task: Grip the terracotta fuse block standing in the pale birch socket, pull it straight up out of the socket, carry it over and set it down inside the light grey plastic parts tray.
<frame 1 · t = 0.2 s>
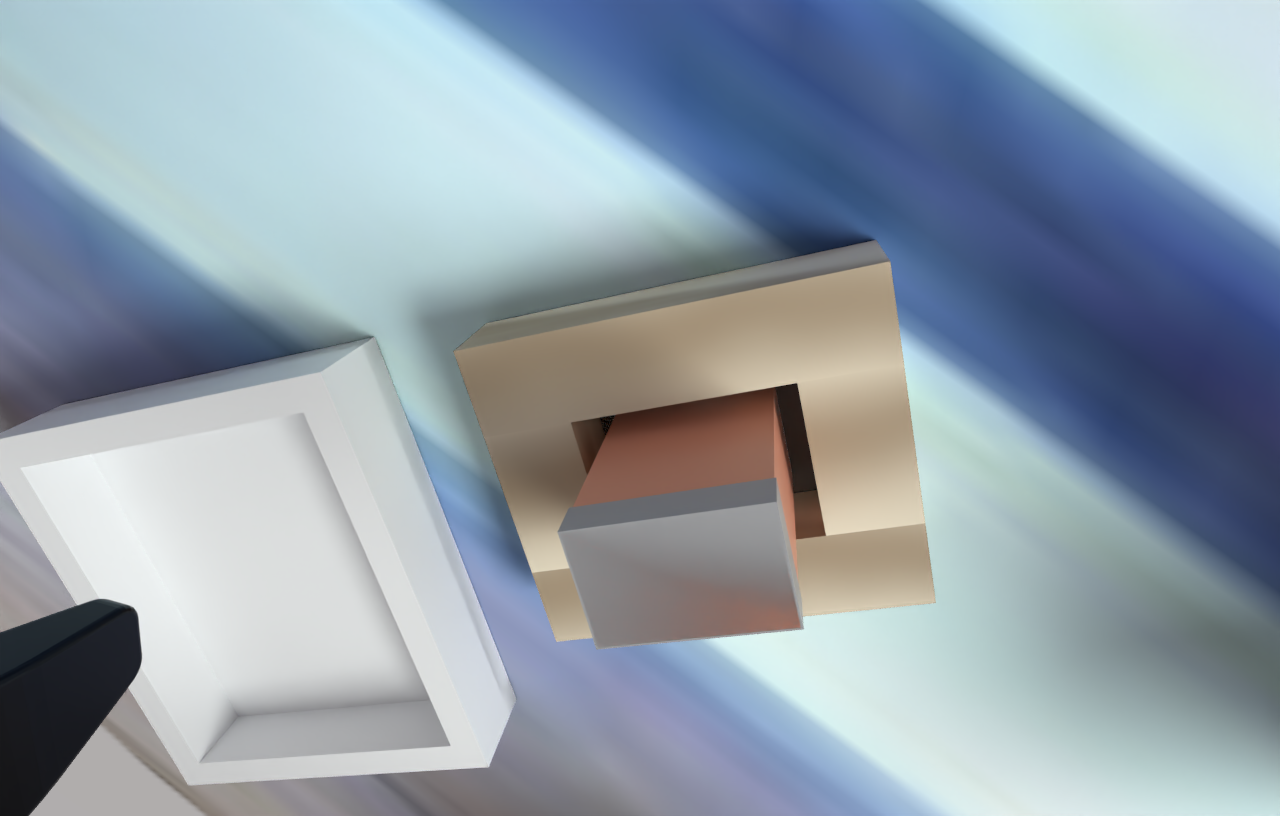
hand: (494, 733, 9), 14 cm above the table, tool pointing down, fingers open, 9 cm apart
parts tray: (298, 557, 26), on the table
fuse: (695, 497, 19), in the socket
socket: (706, 438, 22), on the table
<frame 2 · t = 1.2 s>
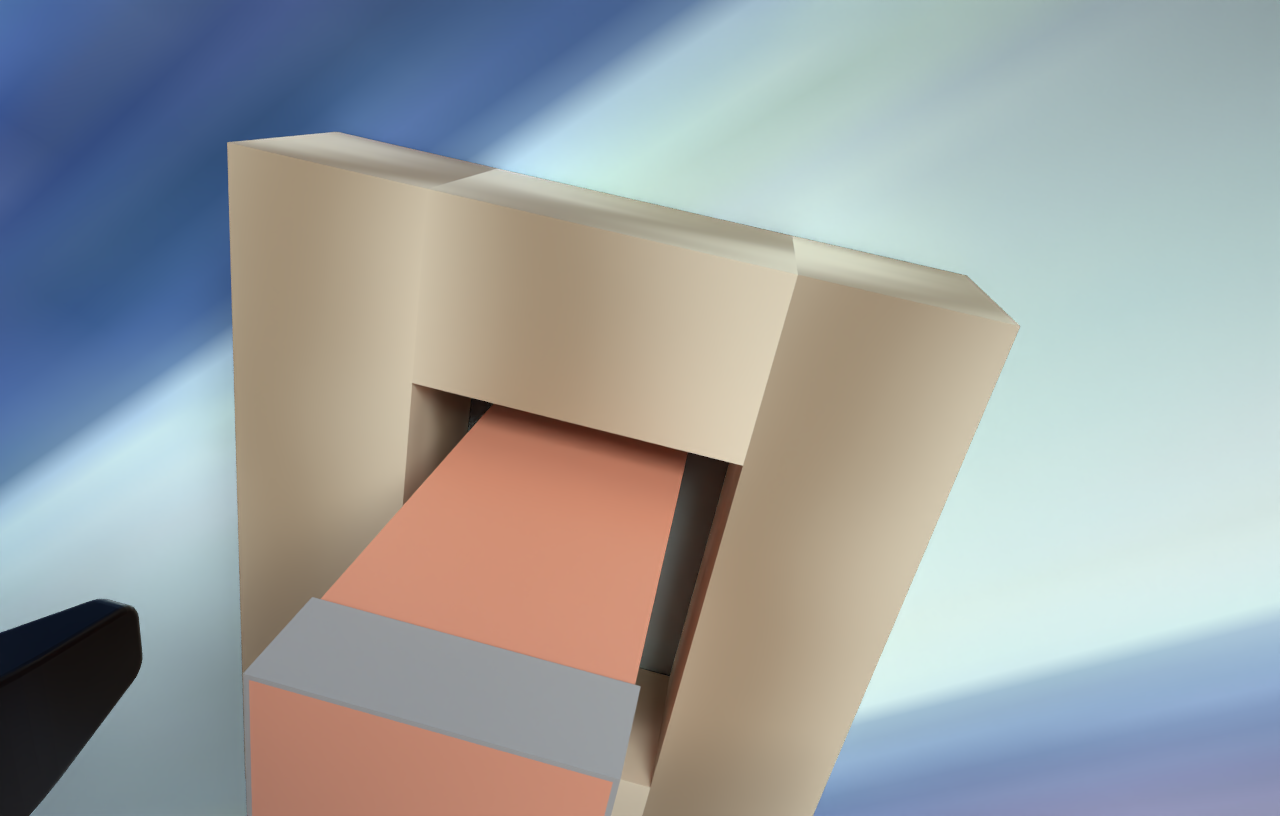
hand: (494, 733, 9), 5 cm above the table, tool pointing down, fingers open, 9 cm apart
fuse: (523, 649, 10), in the socket
socket: (582, 516, 13), on the table
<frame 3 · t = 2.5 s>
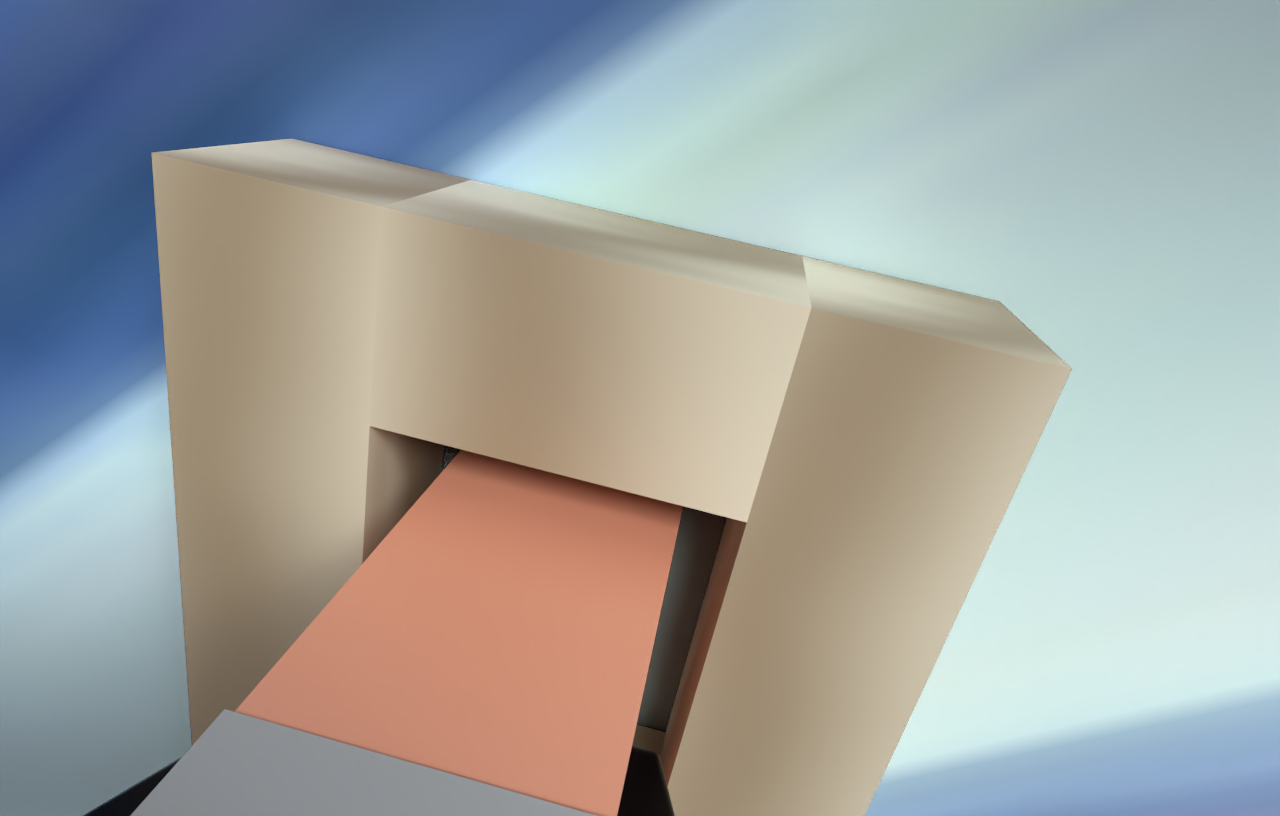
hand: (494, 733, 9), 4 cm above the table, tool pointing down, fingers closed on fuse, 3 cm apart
fuse: (496, 729, 9), in the socket, touching gripper
socket: (568, 560, 12), on the table
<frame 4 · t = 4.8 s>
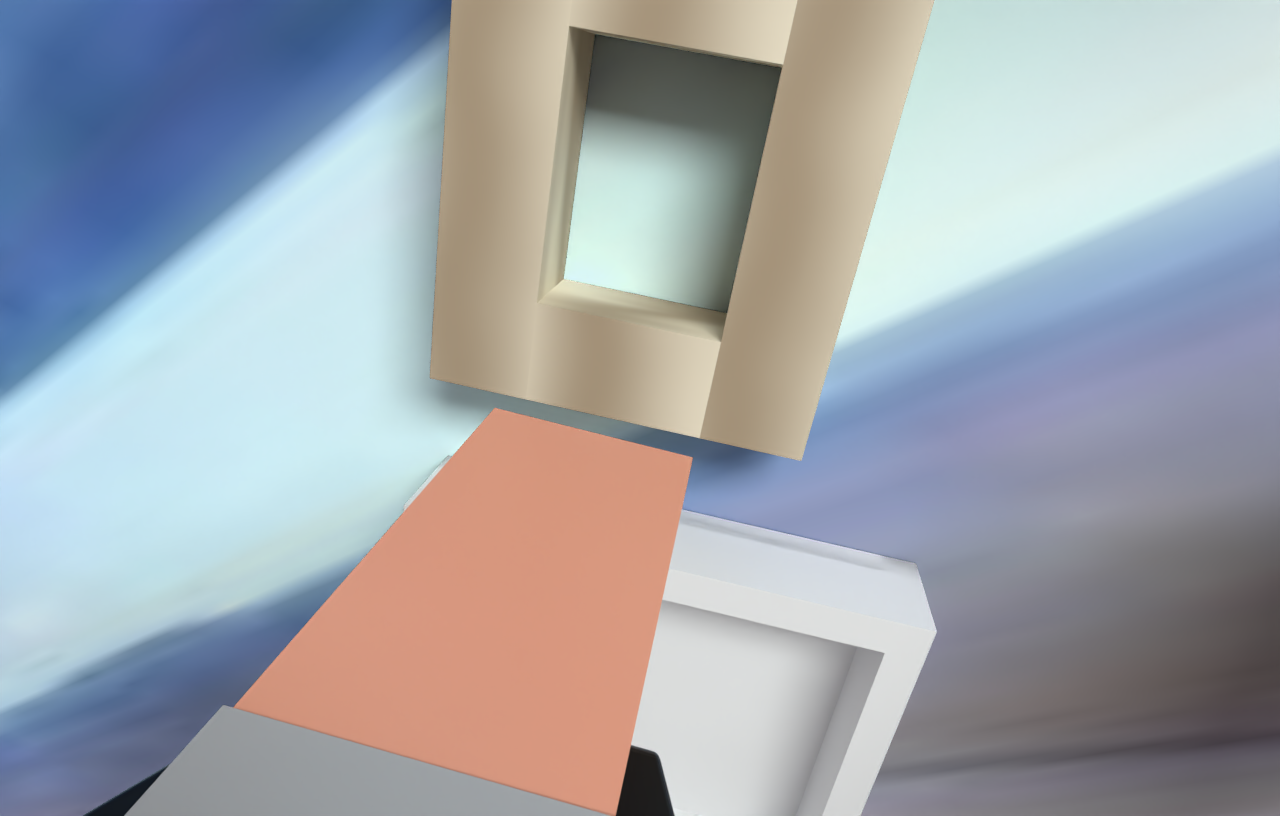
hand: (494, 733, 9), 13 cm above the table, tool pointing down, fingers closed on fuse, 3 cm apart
parts tray: (641, 664, 25), on the table
fuse: (495, 726, 9), point 13 cm above the table, touching gripper
socket: (664, 181, 19), on the table
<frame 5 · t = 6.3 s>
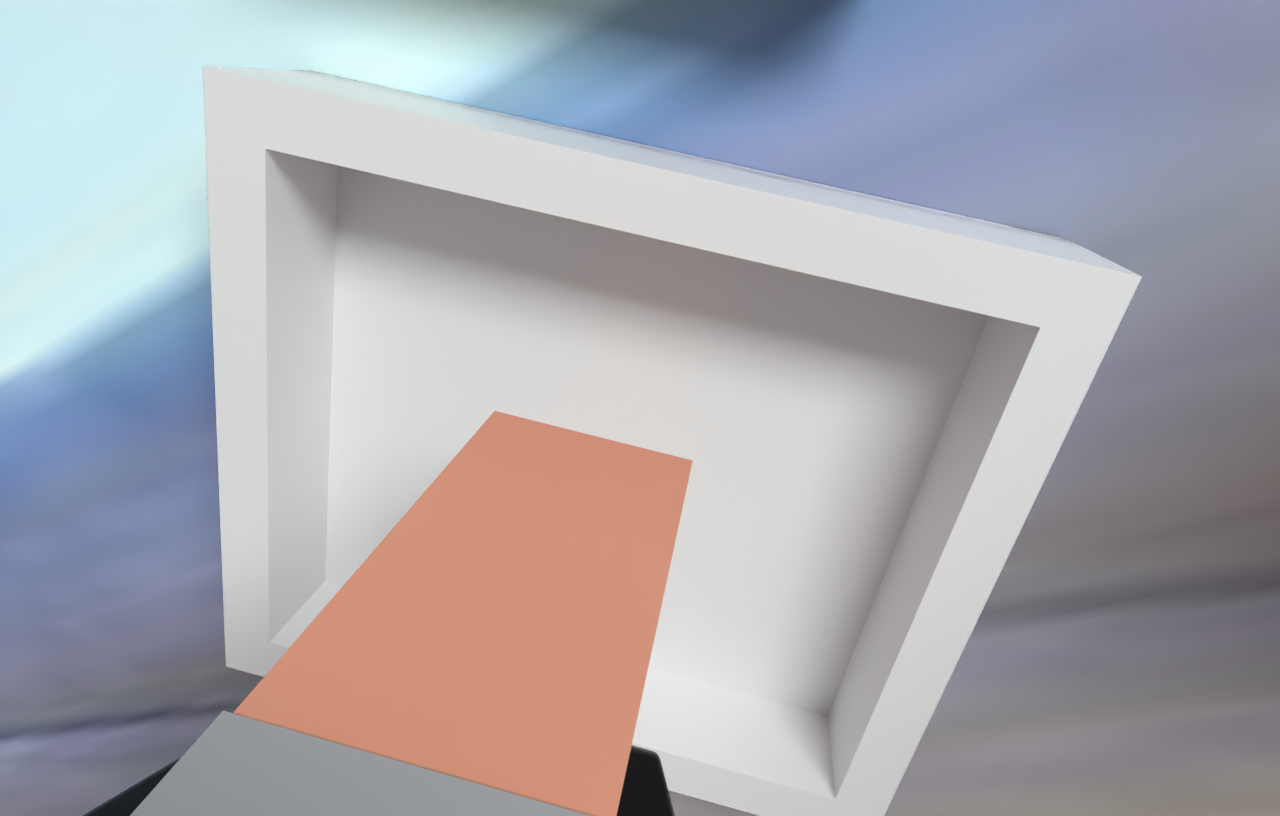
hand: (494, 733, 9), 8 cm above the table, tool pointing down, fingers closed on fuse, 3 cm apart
parts tray: (616, 442, 16), on the table
fuse: (495, 730, 9), point 8 cm above the table, touching gripper
when the fingers open (6 cm above the table, at t = 7.4 s): fuse drops 1 cm, resting on parts tray.
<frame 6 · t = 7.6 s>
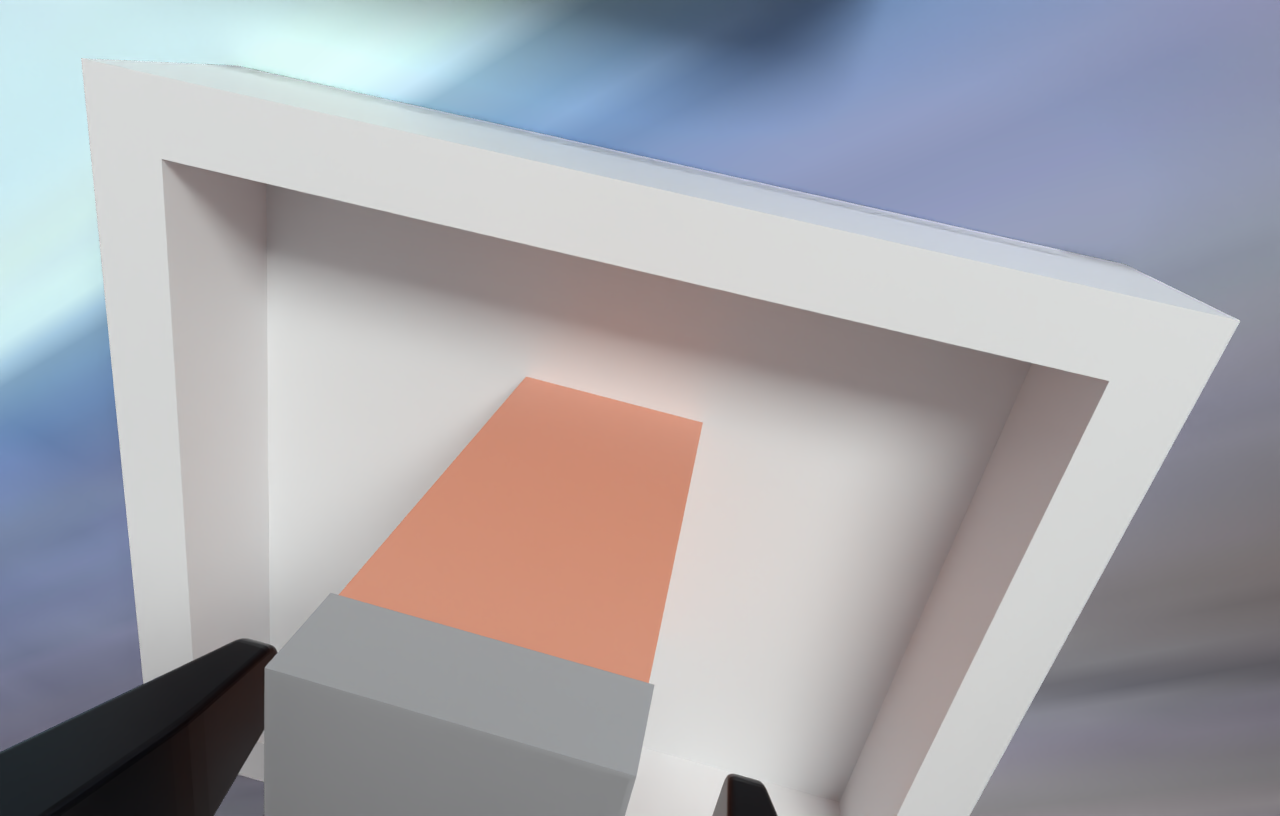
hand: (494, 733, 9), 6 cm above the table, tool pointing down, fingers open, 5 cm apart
parts tray: (597, 492, 14), on the table
fuse: (531, 646, 10), in the parts tray, point 4 cm above the table
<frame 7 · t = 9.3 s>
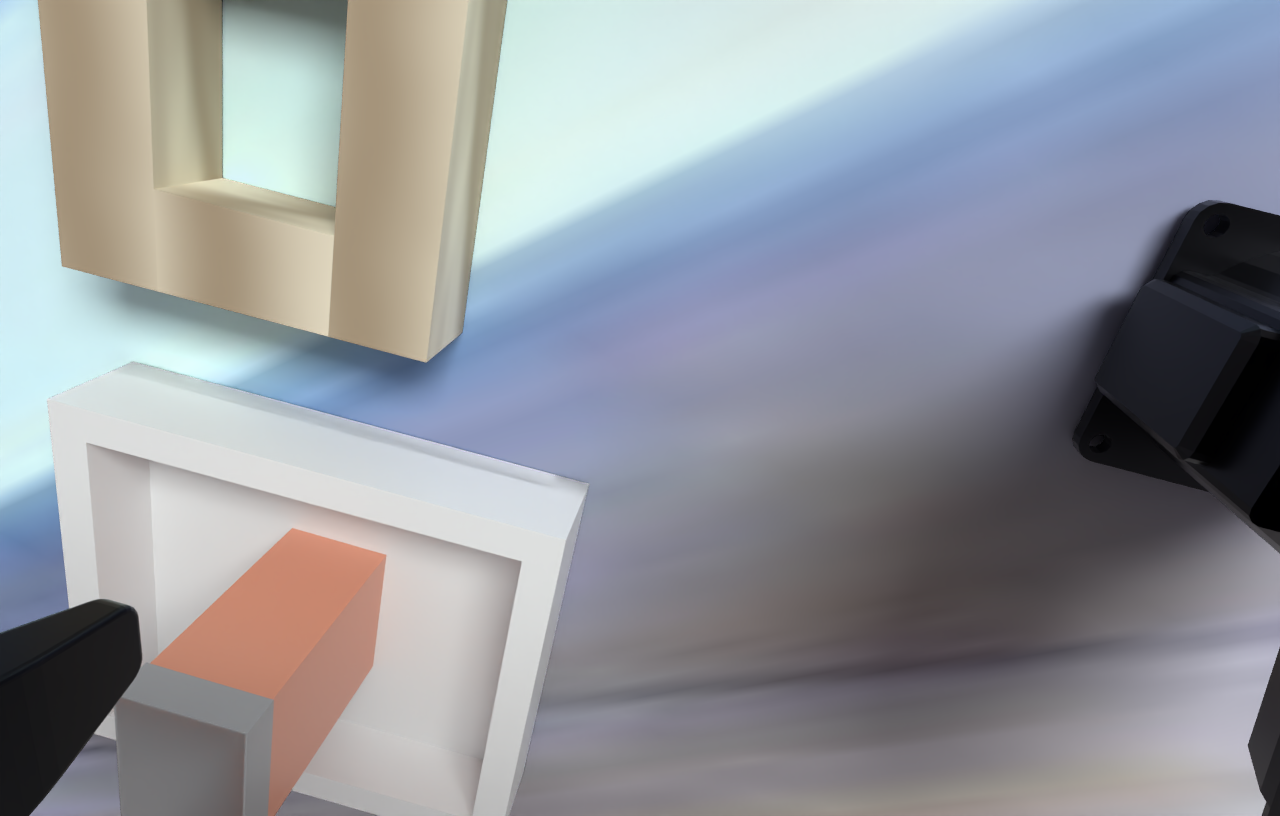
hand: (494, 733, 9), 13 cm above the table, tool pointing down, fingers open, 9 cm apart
parts tray: (345, 584, 25), on the table
fuse: (269, 678, 21), in the parts tray, point 4 cm above the table
socket: (306, 78, 19), on the table
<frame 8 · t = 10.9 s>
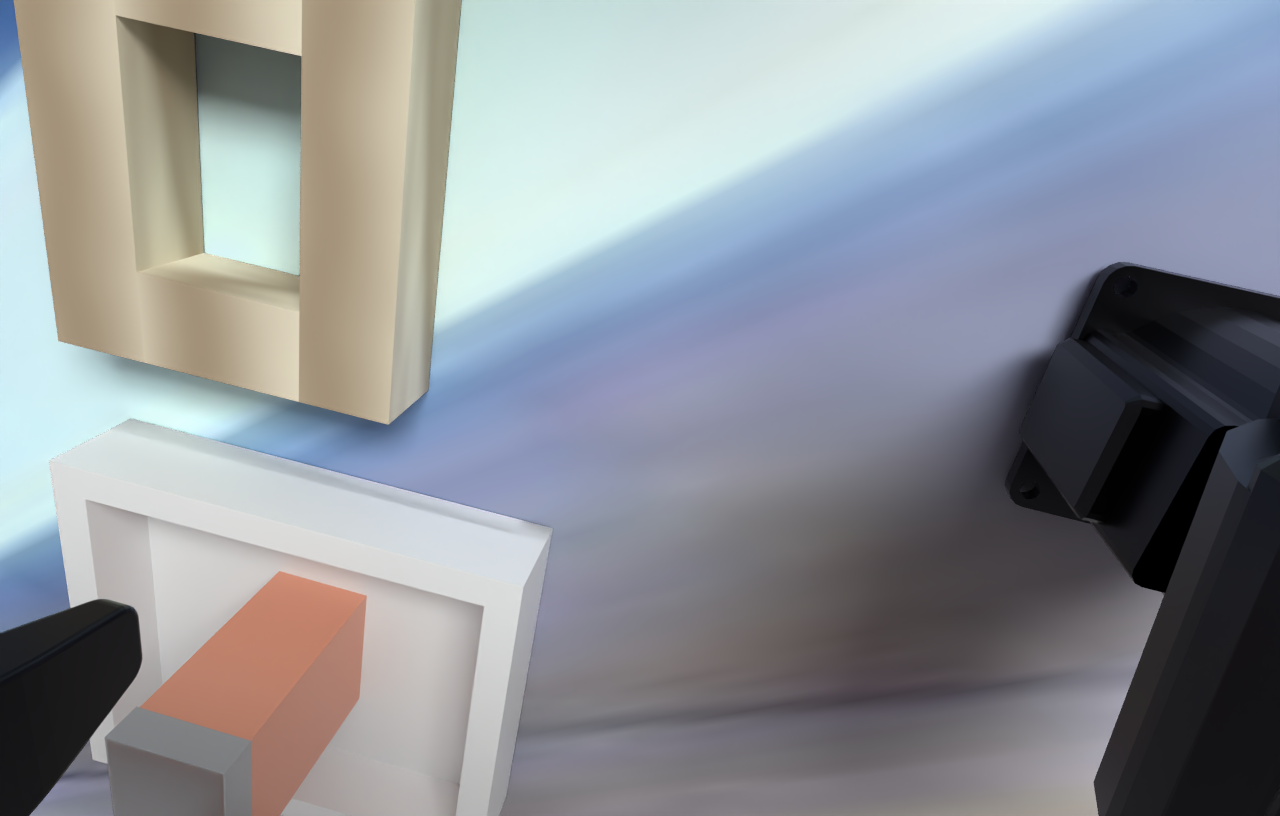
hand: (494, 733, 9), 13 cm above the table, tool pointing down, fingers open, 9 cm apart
parts tray: (332, 621, 26), on the table
fuse: (255, 715, 22), in the parts tray, point 4 cm above the table
socket: (276, 163, 20), on the table
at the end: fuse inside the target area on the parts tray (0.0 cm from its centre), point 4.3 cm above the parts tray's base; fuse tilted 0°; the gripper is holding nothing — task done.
